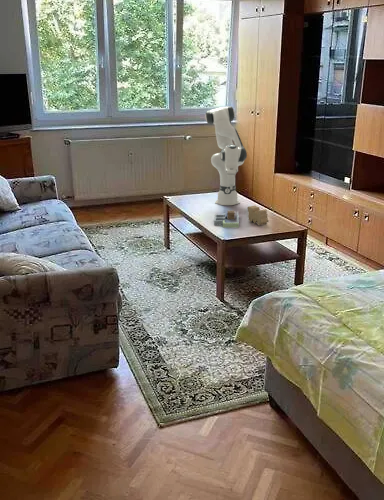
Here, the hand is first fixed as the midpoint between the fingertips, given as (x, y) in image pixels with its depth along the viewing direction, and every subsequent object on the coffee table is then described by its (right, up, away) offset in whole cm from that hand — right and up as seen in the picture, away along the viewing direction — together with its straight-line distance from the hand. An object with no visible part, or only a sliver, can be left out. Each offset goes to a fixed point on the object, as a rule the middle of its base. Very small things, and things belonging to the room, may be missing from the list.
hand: (231, 188), depth 363 cm
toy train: (+17, -25, -12) cm, 32 cm away
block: (0, -21, -1) cm, 21 cm away
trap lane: (-4, -24, -9) cm, 25 cm away
